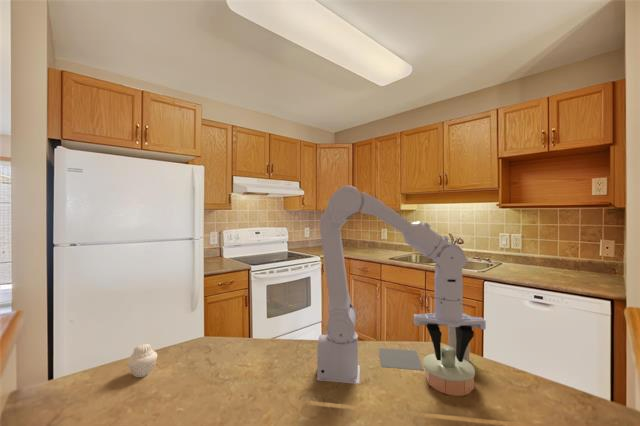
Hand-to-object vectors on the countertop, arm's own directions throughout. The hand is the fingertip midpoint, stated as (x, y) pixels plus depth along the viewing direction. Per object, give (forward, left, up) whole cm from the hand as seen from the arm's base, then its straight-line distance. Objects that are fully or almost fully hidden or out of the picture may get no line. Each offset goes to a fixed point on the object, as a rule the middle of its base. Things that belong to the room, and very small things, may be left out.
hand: (448, 359), depth 63 cm
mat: (-9, +10, -6) cm, 15 cm away
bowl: (0, 0, -6) cm, 6 cm away
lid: (0, 0, -2) cm, 2 cm away
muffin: (-70, -6, -6) cm, 71 cm away
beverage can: (+6, +12, -6) cm, 14 cm away
